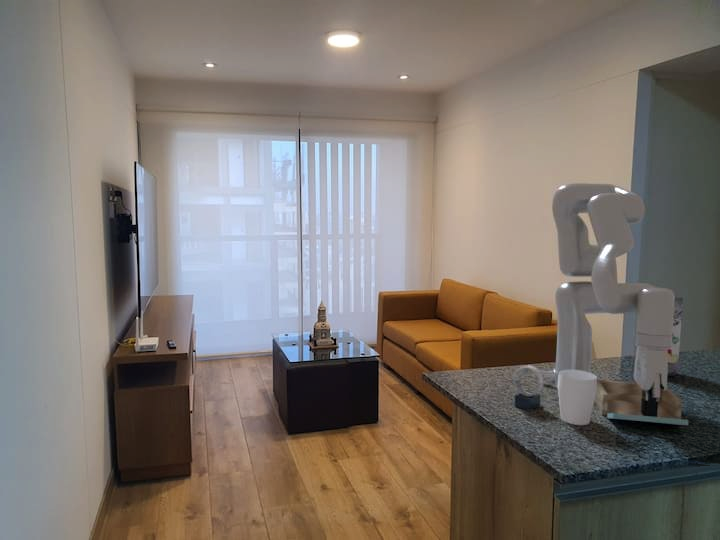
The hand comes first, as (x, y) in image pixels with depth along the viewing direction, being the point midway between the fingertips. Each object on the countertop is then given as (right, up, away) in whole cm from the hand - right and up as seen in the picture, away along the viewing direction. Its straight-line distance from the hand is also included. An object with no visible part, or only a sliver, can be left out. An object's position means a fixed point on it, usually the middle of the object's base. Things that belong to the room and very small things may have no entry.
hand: (648, 415), depth 127 cm
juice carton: (+28, +1, +47) cm, 54 cm away
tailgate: (+1, -3, +5) cm, 6 cm away
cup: (-15, -3, +6) cm, 17 cm away
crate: (+3, -2, +13) cm, 13 cm away
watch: (-24, -2, +16) cm, 29 cm away
